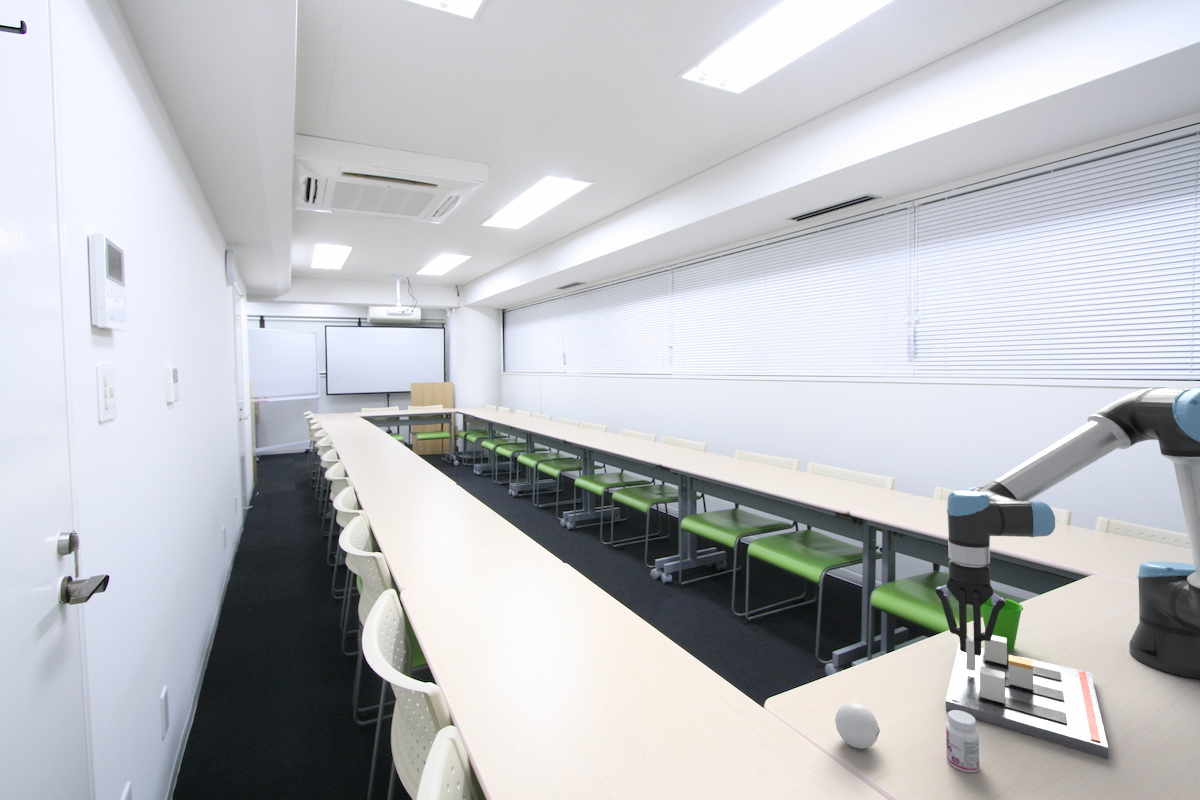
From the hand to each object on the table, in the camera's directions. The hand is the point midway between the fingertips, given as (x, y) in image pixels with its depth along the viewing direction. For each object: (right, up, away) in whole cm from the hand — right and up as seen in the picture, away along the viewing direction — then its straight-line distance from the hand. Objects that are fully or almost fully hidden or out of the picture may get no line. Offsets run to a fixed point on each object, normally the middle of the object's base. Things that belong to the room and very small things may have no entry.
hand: (970, 667), depth 117 cm
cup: (+18, -3, +15) cm, 24 cm away
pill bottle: (-19, -5, -25) cm, 31 cm away
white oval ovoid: (-34, -5, -18) cm, 38 cm away
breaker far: (+9, 0, +4) cm, 10 cm away
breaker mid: (+7, -1, -5) cm, 9 cm away
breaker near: (-2, -1, -10) cm, 10 cm away
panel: (+7, -3, -5) cm, 9 cm away
